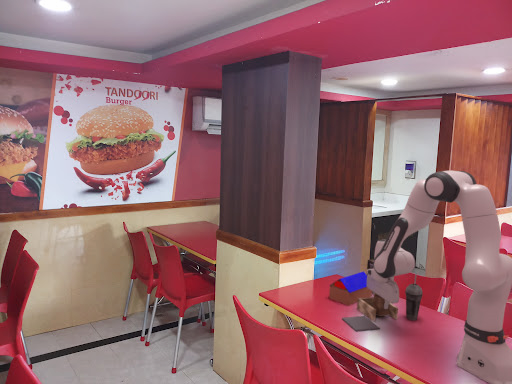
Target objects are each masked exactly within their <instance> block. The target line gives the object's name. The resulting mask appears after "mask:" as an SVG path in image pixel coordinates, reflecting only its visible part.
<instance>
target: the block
mask: <svg viewBox="0 0 512 384" xmlns="http://www.w3.org/2000/svg"><path fill="white" fill-rule="evenodd" d="M384 300H385V299H383V298H382V297H380V296H379V295H377V294H373V308H374V309H376V316H378V317H382V316H383V317H384V316H390V315H389V305H390V303H389V305H388V309H384V308H383V304H384V303H385V301H384Z"/></svg>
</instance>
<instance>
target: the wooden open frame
mask: <svg viewBox="0 0 512 384" xmlns="http://www.w3.org/2000/svg"><path fill="white" fill-rule="evenodd" d="M373 297H374V296H373ZM373 297H372V296H371V297H368V298H358V302H356V306H357V307H356V309H357V310H358V311H359V312H360V313H362V314H363V315H364V316H365V317H367V318H368V319H369V320H371V321H372V322H375V321H376V316H377V315H376V309H374V308H373ZM398 314H399V308H398V306H396V305H394V303H393V304H392V303H390V305H389V315H388V316H390V317H391V318H393V319H394V320H398Z"/></svg>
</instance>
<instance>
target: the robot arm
mask: <svg viewBox="0 0 512 384" xmlns="http://www.w3.org/2000/svg"><path fill="white" fill-rule="evenodd" d="M491 193H492V192H491V191H490V190H489V188H488V187H487V186H485V185H484V184H477V180H476V178H475V177H474V175H472V174H471V173H470V172H467V171H464V170H453V169H452V170H443V171H440V170H439V171H436V172H434V173H433V172H432V173H431V174H429V175H428V176H427V178H426V179H425V178H424V179H420V180H417V182H416V183H415V184H414V186H413V188H412V190H411V192H410V194H409V195H408V196H409V197H408V198H407V201H406V204H405V206H404V208H403V211H401V214H400V215H399V217H398V218H397V219H396V220H395V222H394V224H393V225H392V227H391V228H390V231H389V232H388V235H387V237H386V238H384V239H383V238H382V239H379V240H377V242H376V244H375V248H374V256H373V257H374V258H373V259H374V264H373V265H374V269H367V268H366V275H367V274H368V275H367V288H368V289H370V290H371V291H373V292H374V293H372V294H373V295H374V294H377V295H379V296H380V297H382V298H383V299H385V300H384V301H385V303H384V304H383V308H384V309H388V305H389V303H391V304H393V305H394V304H397V303H399V302H400V288H399V286H398V283H397V282H396V281H395V280H394V279H395V277H396V276H397V277H398V276H401V275H402V276H403V275H407V274H409V273H412V272H413V271H414V270H415V267H416V259H415V256H414V255H413V254H412V252H410V251H407V250H405V249H404V248H402V245H403V242H404V241H405V240H406V239H407V238H408V237H409V236H410V235H412V234H414V233H416V232H418V231H421V230H423V229H425V228H427V227H428V226H429V225H430V224H431V222H432V220H433V219H434V216H435V214H436V211H437V209H438V206H439V203H440V202H445V203H449V204H450V203H453V202H454V203H456V204H457V205H458V206H459V210H460V215H461V222H462V227H463V232H464V237H465V256H464V257H465V259H464V261H465V262H464V265H463V266H464V267H463V269H462V272H461V277H462V281H463V282H464V284H465V285H466V286H467V287H468V288H469V289H471V290H472V293H471V295H470V297H469V299H468V305H467V314H466V320H465V321H464V325H463V327H464V328H463V331H464V335H463V339H462V343H461V347H460V350H459V352H458V353H457V357H456V358H457V362H456V365H457V366H458V367H459V368H461V369H462V370H465V371H466V372H468V373H470V374H472V375H474V376H475V377H477V378H479V379H481V380H483V381H485V382H486V383H488V384H512V349H511V348H510V347H509V345H508V343H507V342H506V341H507V339H509V337H510V335H505V331H504V328H503V324H504V317H505V310H506V306H507V302H508V298H509V296H510V293H511V289H512V257H511V256H509V255H508V254H504V253H501V252H500V245H501V244H500V243H501V240H502V231H501V225H500V221H499V218H498V217H499V216H498V212H497V208H496V207H497V206H496V204H495V201H494V198H493V196H492V194H491Z"/></svg>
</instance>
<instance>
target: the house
mask: <svg viewBox="0 0 512 384" xmlns="http://www.w3.org/2000/svg"><path fill="white" fill-rule="evenodd" d="M372 294H373V293H372V291H371V290H370V289H368V288H367V273H366V272H365V271H361V272H357V273H355V274H351V275H348V276H344V277H341V278H338V279H337V280H335V281H334V282H332V283H331V284H329V295H328V299H330V300H333V301H336V302H339V303H341V304H344V305H346V306H348V307H349V306H352V305H353V304H357V303H358V298H368V297H372Z"/></svg>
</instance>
